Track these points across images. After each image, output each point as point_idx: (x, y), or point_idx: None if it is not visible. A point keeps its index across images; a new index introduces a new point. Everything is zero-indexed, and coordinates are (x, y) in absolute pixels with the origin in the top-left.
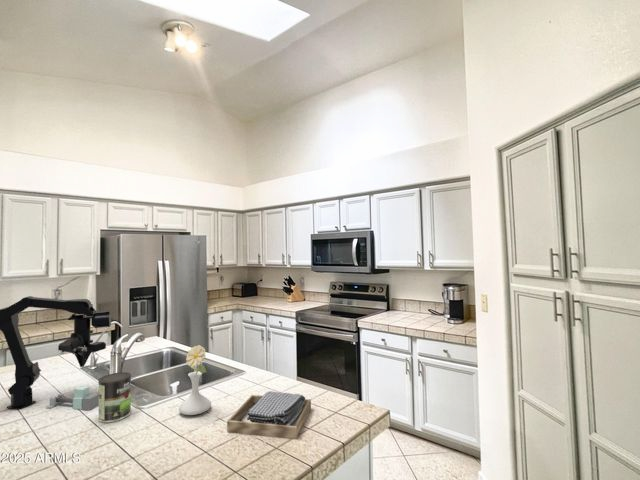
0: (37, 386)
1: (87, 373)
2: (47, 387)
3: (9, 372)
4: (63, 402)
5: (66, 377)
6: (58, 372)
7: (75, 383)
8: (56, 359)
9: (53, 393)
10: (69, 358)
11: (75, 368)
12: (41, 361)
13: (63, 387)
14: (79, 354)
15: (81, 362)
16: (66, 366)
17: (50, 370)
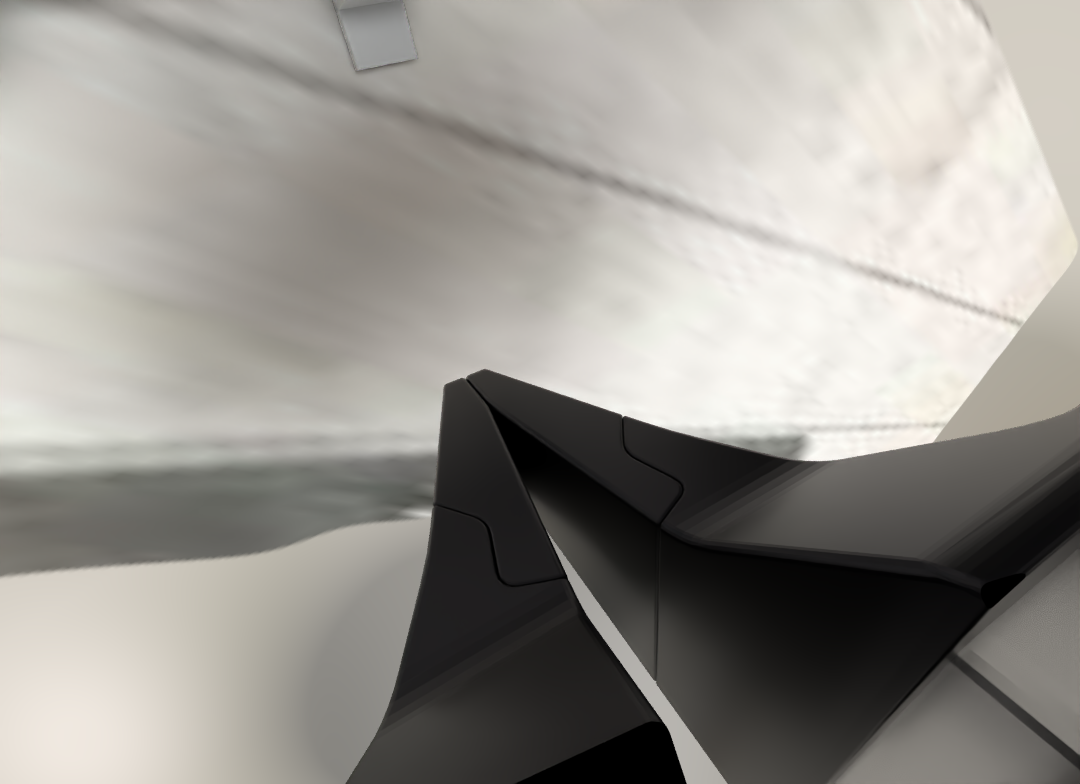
0: (855, 180)
1: (726, 435)
2: (789, 202)
3: (1053, 225)
4: (335, 8)
5: (789, 347)
6: (865, 352)
7: (673, 338)
8: (944, 403)
9: (668, 148)
10: (906, 438)
11: (823, 419)
12: (984, 360)
13: (691, 259)
14: (579, 636)
15: (460, 435)
16: (872, 402)
17: (910, 340)
